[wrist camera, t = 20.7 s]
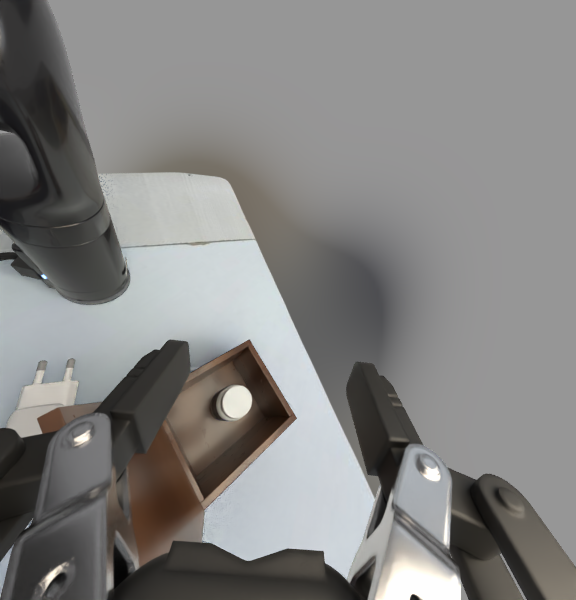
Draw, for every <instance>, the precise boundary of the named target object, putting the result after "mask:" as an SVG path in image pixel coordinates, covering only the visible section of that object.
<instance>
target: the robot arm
mask: <svg viewBox="0 0 576 600" xmlns="http://www.w3.org/2000/svg"><path fill="white" fill-rule="evenodd" d="M0 130H3V131H7V132H11V133H2V134H0V228H1V229H2V230H3V231H4V232H5V233H6V234H7V235H8V237H9V238H10V239H11V240H12V241H13V242H14V243H13V244H12V249H13V251H14V252H6V253H0V261H2V260H9V259H15V260H14V261H13V262H12V264H11V266H12V267H13V268H14V269H15V270H16V271H17V272H19V273H20V274H21V275H22V276H27V277H31V278H36V279H41V280H42V281H43V282H44V283H45V284H46V285H47V286H48V287H50V288H54V289H56V290H57V291H58V292H59V293H60V295H62V296H63V297H64V298H66V299H67V300H69V301H72V302H75V303H79V304H86V305H95V304H102V303H106V302H109V301H111V300H114V299H116V298H117V297H119V296H120V295H122V294H123V293H124V292H125V290H126V289H127V288H128V286H129V283H130V275H129V271H128V269H127V259H126V264H125V261H124V258H123V254H122V251H121V248H120V245H119V242H118V239H117V235H116V232H115V229H114V226H113V223H112V220H111V217H110V214H109V210H108V207H107V204H106V201H105V198H104V195H103V192H102V189H101V185H100V182H99V178H98V174H97V170H96V165H95V161H94V158H93V153H92V150H91V147H90V143H89V140H88V137H87V133H86V129H85V125H84V121H83V117H82V113H81V109H80V105H79V101H78V96H77V92H76V88H75V83H74V79H73V75H72V71H71V67H70V63H69V60H68V56H67V52H66V48H65V45H64V42H63V39H62V36H61V33H60V30H59V27H58V24H57V21H56V19H55V17H54V14H53V12H52V10H51V7H50V5H49V3H48V1H47V0H0ZM190 367H191V365H190V355H189V346H188V342H186V341H178V340H168V341H167V342H166V343H165V345H164V346H163V347H162V348H161V349H160V350H153V351H152V352H150V353H148V354H147V355H145V356H144V357H142V358H141V360H140V361H139V362H138V363H137V364H136V365H135V366H134V369H132V370H131V371H130V372H129V373H128V374H127V376H126V377H124V379H123V380H122V381H121V382H120V383H119V384H118V385H117V386H116V387H115V389H114V390H113V391H112V392H111V393H110V394H109V395H108V396H107V397H106V399H105V400H104V401H103V402H102V403H101V404H100V405H99V406H98V408H97V409H96V410H95V411H94V412H93V413H89V414H86V415H82V416H80V417H78V418H76V419H74V420H72V421H70V422H69V423H67V424H66V425H64V426H63V427H62V428H61V429H60V430H58V431H54V432H48V433H43V434H38V435H33V436H28V437H22V438H21V437H20V436H19V434H18V433H17V432H16V431H15V430H14V429H11V428H0V562H1V560H2V559H3V557H4V556H5V555H6V553H7V552H8V551H9V549H10V548H11V547H12V545H13V544H14V546H13V549H12V552H11V556H10V560H9V564H8V568H7V572H6V576H5V581H4V585H3V589H2V593H1V597H0V600H461V582H462V584H463V587H464V589H465V591H466V594H467V597H468V599H469V600H524V599H523V597H522V596H521V593H520V592H519V590H518V588H517V586H516V584H515V582H514V580H513V578H512V577H511V575H510V573H509V571H508V569H507V567H506V565H505V563H504V562H503V560H502V558H501V556H500V554H501V553H502V555H503V557H504V558H505V560H506V562H507V564H508V566H509V567H510V569H511V571H512V573H513V575H514V577H515V579H516V580H517V582H518V584H519V586H520V588H521V589H522V591H523V593H524V595H525V597H526V599H527V600H576V567H575V566H574V564H573V563H572V561H571V560H570V559H569V557H568V556H567V554H566V553H565V552H564V550H563V549H562V548H561V546H560V545H559V543H558V542H557V541H556V539H555V538H554V536H553V535H552V534H551V532H550V531H549V529H548V528H547V527H546V525H545V524H544V523H543V521H542V520H541V518H540V517H539V516H538V514H537V513H536V511H535V510H534V509H533V507H532V506H531V505H530V503H529V502H528V501H527V500H526V498H525V497H524V496H523V495H522V494H521V493H520V492H519V491H518V490H517V489H516V488H514V487H513V486H512V485H510V484H509V483H508V482H507V481H505V480H503V479H502V478H500V477H498V476H495V475H492V474H484V475H482V476H481V477H480V478H479V479H478V480H475V479H473V478H470V477H468V476H466V475H463V474H461V473H459V472H456V471H454V470H452V469H450V468H448V467H447V466H446V465H445V463H444V462H443V461H442V459H441V458H440V457H439V456H438V455H437V454H436V453H435V452H433V451H432V450H430V449H429V448H427V447H425V446H424V445H423V444H422V442H421V440H420V438H419V436H418V434H417V432H416V430H415V428H414V426H413V424H412V422H411V421H410V419H409V417H408V415H407V413H406V411H405V409H404V407H402V403H401V401H400V399H399V398H398V396H397V393H396V392H395V390H394V388H393V386H392V385H391V383H389V381H388V380H387V379H386V378H385V377H384V376H379V374H378V372H377V370H376V368H375V366H374V365H373V364H372V363H364V362H356V363H355V364H354V366H353V369H352V372H351V374H350V377H349V380H348V383H347V387H346V392H347V393H346V394H347V399H348V403H349V406H350V410H351V414H352V418H353V421H354V425H355V429H356V433H357V436H358V440H359V444H360V448H361V451H362V455H363V459H364V462H365V466H366V469H367V474H368V475H373V476H378V477H379V480H380V484H381V485H380V486H379V489H378V492H377V495H376V498H375V501H374V505H373V508H372V511H371V514H370V517H369V520H368V524H367V527H366V530H365V533H364V536H363V539H362V542H361V544H360V547H359V549H358V551H357V553H356V555H355V557H354V560H353V562H352V565H351V568H350V571H349V574H348V577H347V580H346V579H345V578H344V577H343V576H342V575H341V574H340V573H339V572H338V571H336V570H335V569H333V568H332V567H331V566H329V565H327V564H325V561H324V551H313V550H299V549H285V550H282V551H279V552H276V553H273V554H270V555H267V556H264V557H261V558H258V559H255V560H252V561H245V560H243V559H241V558H239V557H237V556H235V555H233V554H231V553H229V552H227V551H225V550H223V549H221V548H219V547H217V546H215V545H213V544H212V543H201V542H187V541H173V542H172V545H171V548H170V551H169V552H168V553H165V554H162V555H160V556H158V557H156V558H154V559H152V560H150V561H149V562H147V563H146V564H144V565H142V566H141V567H140V568H139V556H138V548H137V541H136V536H135V532H134V527H133V519H132V506H131V493H130V479H129V467H128V463H129V461H130V460H131V458H132V456H133V455H134V453H141V454H146V453H147V451H148V449H149V447H150V445H151V444H152V442H153V440H154V438H155V436H156V435H157V433H158V431H159V429H160V427H161V426H162V424H163V422H164V420H165V418H166V417H167V415H168V413H169V411H170V409H171V408H172V406H173V404H174V402H175V400H176V399H177V397H178V395H179V393H180V391H181V390H182V388H183V386H184V384H185V382H186V381H187V379H188V376H189V373H190ZM32 518H33V521H32V523H31V525H30V527H29V528H27V529H25V528H26V527H27V525H28V524H29V522H30V521H31V520H32ZM24 529H25V530H24ZM450 554H451V556H450ZM451 557H452V558H451Z"/></svg>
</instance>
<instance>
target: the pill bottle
mask: <svg viewBox="0 0 576 600" xmlns="http://www.w3.org/2000/svg"><path fill="white" fill-rule="evenodd" d="M251 405H252V396H251V393H250V392H249V390H248V389H247V388H245V387H244V386H240V385H230V386H227V387H225V388H223V389H222V390H220V391H218V392H217V393H216V394H215V395H214V397H213V398H212V401H211V405H210V408H211V413H212V415H213V416H214V417H215V418H216V419H218V420H220V421H230V422H232V421H237V420H239V419H241V418H242V417H243V416H244V415H246V414H247V413H248V411H249V410H250V408H251Z"/></svg>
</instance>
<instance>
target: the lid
mask: <svg viewBox="0 0 576 600" xmlns="http://www.w3.org/2000/svg"><path fill="white" fill-rule="evenodd" d="M101 403H102V402H97V403H89V404H80V405H72V406H64V407H57V408H55V409H53V410H51V411H50V412H48V413H46V414H44V415H42V416H40V417H38V418H37V421H38V423H39V426H40V429H41V431H42V434H43V433H48V432H54V431H58V430H60V429H61V428H62V427H63V426H64V425H66V424H67V423H69V422H70V421H72V420H74V419H76V418H78V417H80V416H82V415H86V414H89V413H93V412H94V411H95V410H96V409H97V408H98V406H99V405H100V404H101ZM128 467H129V479H130V493H131V506H132V519H133V527H134V532H135V536H136V541H137V548H138V556H139V568H140V567H141V566H142V565H144V564H146V563H147V562H149V561H150V560H152V559H154V558H156V557H158V556H160V555H162V554H165V553H168V552H169V551H170V548H171V545H172V542H173V541H187V542H201V543H202V535H203V525H204V515H205V512H204V510H203V508H202V506H201V504H200V501H199V499H198V497H197V495H196V493H195V491H194V489H193V487H192V485H191V483H190V481H189V479H188V477H187V475H186V473H185V471H184V469H183V467H182V465H181V462H180V460H179V458H178V456H177V454H176V452H175V450H174V448H173V446H172V444H171V442H170V440H169V438H168V436H167V434H166V432H165V430H164V428H163V426H161V427H160V429H159V431H158V433H157V435H156V436H155V438H154V440H153V442H152V444H151V445H150V447H149V449H148V451H147V453H146V454H141V453H134V455H133V456H132V458H131V460H130V461H129V463H128Z"/></svg>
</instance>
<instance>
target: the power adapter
mask: <svg viewBox="0 0 576 600" xmlns="http://www.w3.org/2000/svg"><path fill="white" fill-rule="evenodd" d="M74 364H75V359H73V358H72V359H69V360H68V361H67V365H66V371H65V375H64V378H63V382H53V383H44V384H42V379H43V375H44V371H45V369H46V365H47V361H40V362H39V364H38V367H37V372H36V375H35V379H34V381H33V384H32V385H27V386H23V387H22V389H21V393H20V396H19V399H18V403H17V406H16V409H15V411H14V412H13V413H12V415H11V416H10V417H9V420H8V422H7V425H6V428H11V429H14V430H15V431H16V432H17V433H18V434H19V436H20V437H21V438H22V437H28V436H33V435H38V434H42V431H41V429H40V426H39V423H38V421H37V418H38V417H40V416H42V415H44V414H46V413H48V412H50V411H51V410H53V409H55V408H57V407H64V406H72V405H74V403H75V398H76V393H77V388H78V383H79V381H71V378H72V377H71V376H72V371H73V368H74Z"/></svg>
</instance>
